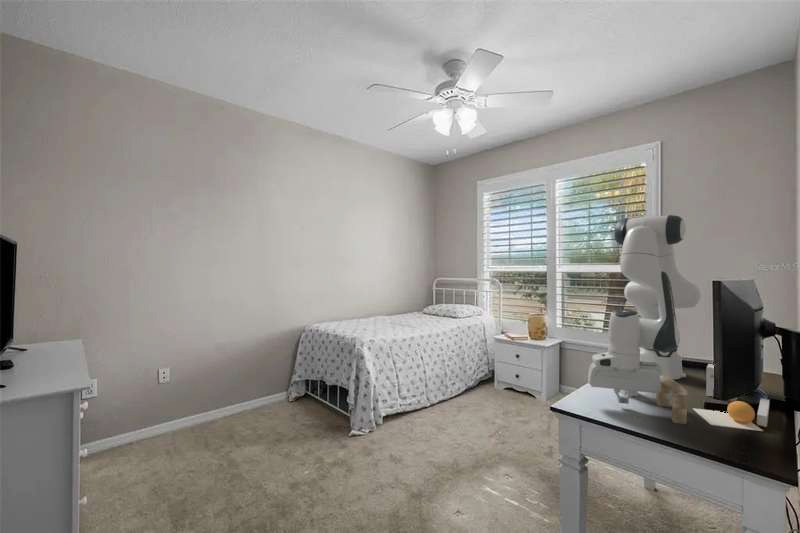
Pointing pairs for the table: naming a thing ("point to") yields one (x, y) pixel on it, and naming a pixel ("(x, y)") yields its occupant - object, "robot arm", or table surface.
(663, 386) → the bridge
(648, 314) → the robot arm
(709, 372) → the small box
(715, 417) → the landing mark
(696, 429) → the table surface
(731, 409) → the ball
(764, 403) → the rail
